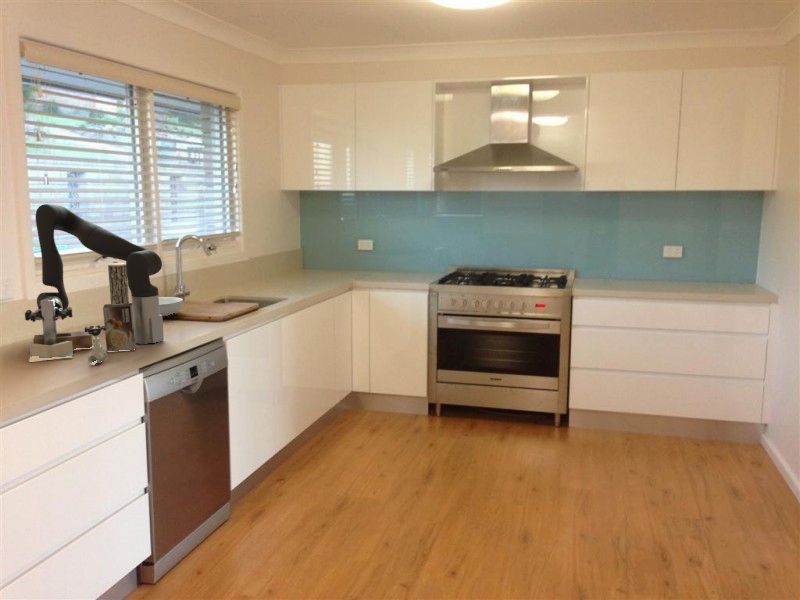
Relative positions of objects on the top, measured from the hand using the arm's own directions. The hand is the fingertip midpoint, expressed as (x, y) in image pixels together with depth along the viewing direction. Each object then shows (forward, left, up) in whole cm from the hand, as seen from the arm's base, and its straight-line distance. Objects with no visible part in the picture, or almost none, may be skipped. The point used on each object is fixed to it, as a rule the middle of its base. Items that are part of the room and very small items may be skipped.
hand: (48, 317), depth 225 cm
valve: (-20, +2, -14) cm, 25 cm away
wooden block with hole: (+5, -10, -14) cm, 17 cm away
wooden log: (+14, -50, -14) cm, 54 cm away
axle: (+1, -2, -12) cm, 13 cm away
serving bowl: (+11, -70, -14) cm, 72 cm away
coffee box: (-15, -15, -14) cm, 26 cm away
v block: (+1, -1, -14) cm, 14 cm away
